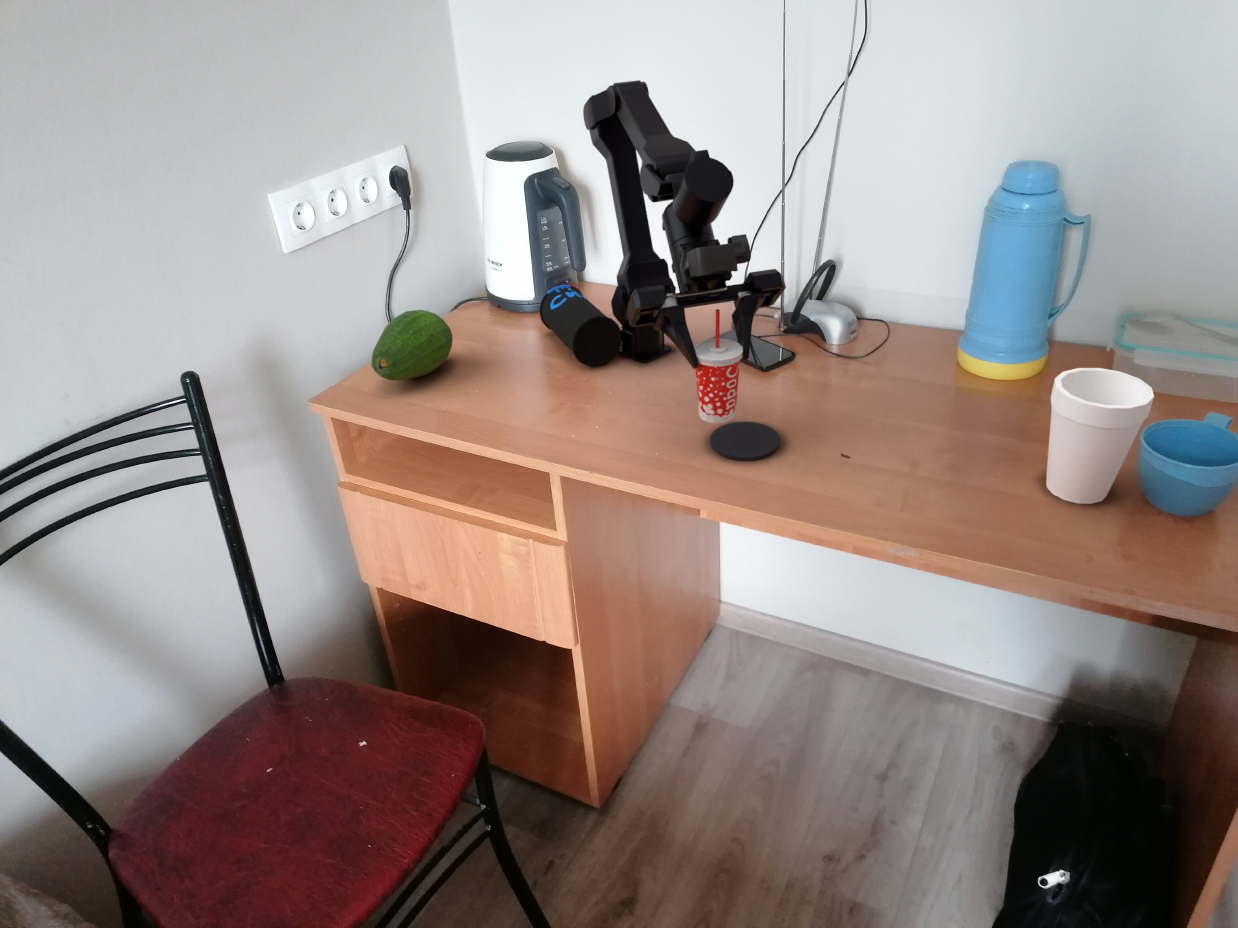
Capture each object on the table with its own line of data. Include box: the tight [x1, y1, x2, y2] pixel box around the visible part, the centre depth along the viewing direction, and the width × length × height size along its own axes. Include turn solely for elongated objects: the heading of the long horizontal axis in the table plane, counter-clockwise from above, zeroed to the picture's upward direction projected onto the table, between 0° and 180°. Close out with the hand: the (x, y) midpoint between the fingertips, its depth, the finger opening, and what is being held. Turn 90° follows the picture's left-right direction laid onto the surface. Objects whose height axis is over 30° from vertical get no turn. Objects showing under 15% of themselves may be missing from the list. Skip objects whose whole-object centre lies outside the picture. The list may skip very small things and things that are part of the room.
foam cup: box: [1045, 367, 1155, 505], centre depth 94 cm, size 10×9×13 cm
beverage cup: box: [693, 308, 743, 424], centre depth 103 cm, size 6×6×14 cm
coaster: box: [709, 421, 781, 462], centre depth 110 cm, size 9×9×1 cm
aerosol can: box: [539, 284, 622, 368], centre depth 138 cm, size 8×8×20 cm
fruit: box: [371, 309, 453, 381], centre depth 131 cm, size 15×10×10 cm, turn 150°
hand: (721, 363), depth 102 cm, fingers closed on beverage cup, 6 cm apart
